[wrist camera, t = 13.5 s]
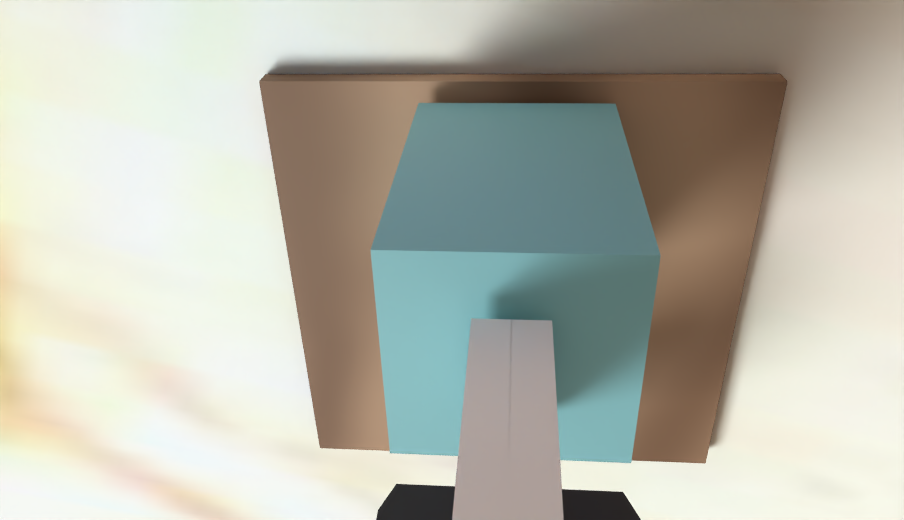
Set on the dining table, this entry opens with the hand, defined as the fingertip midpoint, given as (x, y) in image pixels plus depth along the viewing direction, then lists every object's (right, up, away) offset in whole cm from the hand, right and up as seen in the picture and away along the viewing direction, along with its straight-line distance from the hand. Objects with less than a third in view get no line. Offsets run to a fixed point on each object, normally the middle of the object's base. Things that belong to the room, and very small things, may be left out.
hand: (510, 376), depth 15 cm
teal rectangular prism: (+1, +4, +7) cm, 8 cm away
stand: (+1, +1, +10) cm, 10 cm away
